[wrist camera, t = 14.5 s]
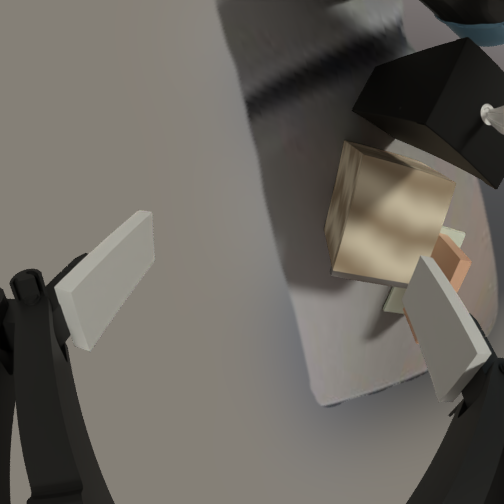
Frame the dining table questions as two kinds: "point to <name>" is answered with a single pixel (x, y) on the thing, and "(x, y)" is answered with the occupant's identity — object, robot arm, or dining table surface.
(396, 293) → the mat
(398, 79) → the black tall rectangular block
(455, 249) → the tan rectangular slab
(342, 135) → the dining table surface
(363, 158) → the brown boxy piece
